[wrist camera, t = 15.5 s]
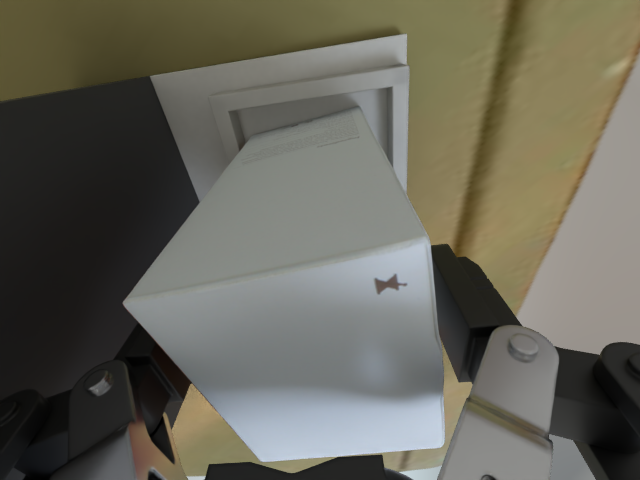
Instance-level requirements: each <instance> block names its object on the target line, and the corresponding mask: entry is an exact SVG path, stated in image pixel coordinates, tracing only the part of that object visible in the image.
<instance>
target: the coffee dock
mask: <svg viewBox="0 0 640 480" xmlns="http://www.w3.org/2000/svg"><path fill="white" fill-rule="evenodd" d="M357 106H360V107H361V109H362V111H363V113H364V115H365V117H366V119H367V122H368V124H369V126H370V128H371V130H372V131H373V133H374V135H375V137H376V139H377V140H378V142H379V144H380V146H381V147H382V149H383V151H384V153H385V155H386V157H387V158H388V160H389V162H390V164H391V166H392V168H393V170H394V172H395V174H396V176H397V178H398V179H399V181H400V183H401V185H402V187H403V189H404V191H405V193H406V195H407V156H408V111H409V65H407V34H400V35H394V36H388V37H382V38H376V39H370V40H363V41H357V42H351V43H345V44H339V45H333V46H327V47H321V48H315V49H309V50H303V51H297V52H291V53H285V54H279V55H273V56H267V57H261V58H255V59H249V60H243V61H237V62H231V63H225V64H219V65H213V66H207V67H201V68H195V69H189V70H183V71H177V72H171V73H165V74H159V75H153V76H146V77H140V78H134V79H128V80H122V81H116V82H110V83H104V84H98V85H92V86H86V87H80V88H74V89H68V90H63V91H57V92H51V93H45V94H39V95H33V96H28V97H22V98H16V99H10V100H4V101H0V401H1V400H2V399H4V398H6V397H7V396H9V395H11V394H13V393H16V392H18V391H21V390H25V389H34V390H36V391H37V392H38V393H40V394H41V395H42V396H43V397H44V398H48V397H51V396H53V395H56V394H59V393H62V392H65V391H67V390H70V389H72V388H73V387H74V385H75V384H76V383H77V381H78V380H79V379H80V378H81V377H82V376H83V375H84V374H85V373H87V372H88V371H89V370H91V369H92V368H94V367H95V366H97V365H99V364H101V363H104V362H106V361H110V360H113V359H114V358H115V356H116V355H117V353H118V352H119V350H120V349H121V347H122V346H123V344H124V343H125V341H126V340H127V338H128V337H129V335H130V334H131V332H132V331H133V329H134V328H135V326H136V325H137V323H139V322H138V321H137V320H136V319H135V318H134V317H133V316H132V315H131V314H130V313H129V312H128V311H127V309H126V308H125V307H124V306H123V301H124V300H125V299H126V297H127V296H128V295H129V294H130V293H131V291H132V290H133V288H134V287H135V286H136V284H137V283H138V282H139V280H140V279H141V278H142V277H143V275H144V274H145V273H146V271H147V270H148V269H149V268H150V266H151V265H152V264H153V262H154V261H155V260H156V258H157V257H158V256H159V255H160V253H161V252H162V251H163V249H164V248H165V247H166V246H167V244H168V243H169V242H170V240H171V239H172V238H173V236H174V235H175V234H176V233H177V231H178V230H179V229H180V227H181V226H182V225H183V224H184V222H185V221H186V220H187V218H188V217H189V216H190V214H191V213H192V212H193V211H194V209H195V208H196V207H197V206H198V204H199V203H200V202H201V200H202V199H203V198H204V196H205V195H206V194H207V193H208V192H209V190H210V189H211V188H212V186H213V185H214V184H215V183H216V181H217V180H218V179H219V177H220V176H221V174H222V173H223V172H224V170H225V169H226V168H227V167H228V165H229V164H230V163H231V161H232V160H233V159H234V158H235V157H236V155H237V154H238V153H239V152H240V150H241V149H242V148H243V147H244V145H245V144H246V143H247V142H248V140H249V139H250V138H251V136H253V135H256V134H259V133H263V132H267V131H270V130H274V129H278V128H282V127H285V126H289V125H293V124H296V123H300V122H304V121H308V120H311V119H315V118H318V117H322V116H325V115H329V114H333V113H336V112H340V111H343V110H347V109H350V108H354V107H357ZM182 403H183V402H171V403H168V405H167V407H166V409H165V411H164V412H165V413H166V414H167V417H168V420H169V423H170V427H171V430H172V427H173V425H174V422H175V420H176V417H177V415H178V413H179V410H180V408H181V405H182ZM25 476H26V475H25V474H23V473H22V472H20V471H18V470H17V469H15V468H13V469H12V470H11V471H10V473H9V474H8V476H7V477H6V479H5V480H23V479H24V477H25Z"/></svg>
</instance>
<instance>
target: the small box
mask: <svg viewBox="0 0 640 480" xmlns="http://www.w3.org/2000/svg"><path fill="white" fill-rule="evenodd" d="M123 306H124V307H125V308H126V309H127V311H128V312H129V313H130V314H131V315H132V316H133V317H134V318H135V319H136V320H137V321H138V322H139V323H140V325H141V326H142V327H143V328H144V329H145V330H146V331H147V332H148V334H149V335H150V336H151V337H152V338H153V339H154V340H155V342H156V343H157V344H158V345H159V346H160V347H161V348H162V350H163V351H164V352H165V353H166V354H167V355H168V356H169V357H170V358H171V360H172V361H173V362H174V363H175V364H176V365H177V366H178V368H179V369H180V370H181V371H182V372H183V373H184V374H185V376H186V377H187V378H188V379H189V380H190V381H191V382H192V384H193V385H194V386H195V387H196V388H197V389H198V390H199V391H200V393H201V394H202V395H203V396H204V397H205V398H206V400H207V401H208V402H209V403H210V404H211V405H212V406H213V407H214V409H215V410H216V411H217V412H218V413H219V414H220V415H221V416H222V418H223V419H224V420H225V421H226V422H227V423H228V424H229V426H230V427H231V428H232V429H233V430H234V431H235V433H236V434H237V435H238V436H239V437H240V438H241V439H242V441H243V442H244V443H245V444H246V445H247V446H248V447H249V448H250V450H251V451H252V452H253V453H254V454H255V455H256V457H257V458H258V459H259V460H260V461H261V462H271V461H282V460H295V459H304V458H320V457H333V456H346V455H358V454H370V453H382V452H393V451H405V450H416V449H429V448H440V447H442V446H443V444H444V442H445V422H444V399H443V385H444V367H443V359H442V345H441V341H440V336H439V330H438V321H437V311H436V298H435V287H434V277H433V265H432V254H431V245H430V239H429V237H428V235H427V233H426V231H425V229H424V227H423V225H422V223H421V221H420V219H419V218H418V216H417V214H416V212H415V210H414V208H413V206H412V204H411V202H410V200H409V198H408V196H407V195H406V193H405V191H404V189H403V187H402V185H401V183H400V181H399V179H398V178H397V176H396V174H395V172H394V170H393V168H392V166H391V164H390V162H389V160H388V158H387V157H386V155H385V153H384V151H383V149H382V147H381V146H380V144H379V142H378V140H377V139H376V137H375V135H374V133H373V131H372V130H371V128H370V126H369V124H368V122H367V119H366V117H365V115H364V113H363V111H362V109H361V107H360V106H357V107H354V108H350V109H347V110H343V111H340V112H336V113H333V114H329V115H325V116H322V117H318V118H315V119H311V120H308V121H304V122H300V123H296V124H293V125H289V126H285V127H282V128H278V129H274V130H270V131H267V132H263V133H259V134H256V135H253V136H251V138H250V139H249V140H248V142H247V143H246V144H245V145H244V147H243V148H242V149H241V150H240V152H239V153H238V154H237V155H236V157H235V158H234V159H233V160H232V161H231V163H230V164H229V165H228V167H227V168H226V169H225V170H224V172H223V173H222V174H221V176H220V177H219V179H218V180H217V181H216V183H215V184H214V185H213V186H212V188H211V189H210V190H209V192H208V193H207V194H206V195H205V196H204V198H203V199H202V200H201V202H200V203H199V204H198V206H197V207H196V208H195V209H194V211H193V212H192V213H191V214H190V216H189V217H188V218H187V220H186V221H185V222H184V224H183V225H182V226H181V227H180V229H179V230H178V231H177V233H176V234H175V235H174V236H173V238H172V239H171V240H170V242H169V243H168V244H167V246H166V247H165V248H164V249H163V251H162V252H161V253H160V255H159V256H158V257H157V258H156V260H155V261H154V262H153V264H152V265H151V266H150V268H149V269H148V270H147V271H146V273H145V274H144V275H143V277H142V278H141V279H140V280H139V282H138V283H137V284H136V286H135V287H134V288H133V290H132V291H131V293H130V294H129V295H128V296H127V297H126V299H125V300H124V301H123Z"/></svg>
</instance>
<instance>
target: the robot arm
mask: <svg viewBox="0 0 640 480" xmlns="http://www.w3.org/2000/svg"><path fill="white" fill-rule="evenodd" d="M431 254H432V265H433V277H434V287H435V298H436V311H437V321H438V330H439V335H440V337H441V340H442V342H443V345H444V347H445V350H446V352H447V355H448V357H449V360H450V362H451V364H452V367H453V369H454V372H455V374H456V377H457V379H458V382H472V384H473V386H472V389H471V392H470V395H469V397H468V398H467V399H466V401H465V404H464V406H463V409H462V412H461V414H460V417H459V420H458V423H457V425H456V428H455V431H454V434H453V437H452V439H451V442H450V445H449V448H448V450H447V453H446V456H445V459H444V462H443V464H442V467H441V470H440V473H439V476H438V478H437V480H550V475H551V466H552V458H553V442H552V441H551V440H550V439H549V434H552V435H556V436H560V437H563V438H567V439H571V440H573V441H574V442H575V444H576V446H577V447H578V449H579V451H580V453H581V455H582V456H583V458H584V460H585V461H586V463H587V465H588V467H589V468H590V470H591V472H592V473H593V475H594V477H595V479H596V480H640V345H637V344H633V343H627V342H618V343H612V344H609V345H607V346H606V347H605V348H604V349H603V350H602V352H601V354H600V355H597V354H592V353H586V352H580V351H574V350H568V349H563V348H559V347H555V346H553V344H552V343H551V342H550V341H549V340H548V339H547V338H545V337H544V336H543V335H541V334H539V333H538V332H536V331H534V330H532V329H529V328H526V327H523V326H522V325H521V324H520V322H519V321H518V319H517V318H516V317H515V315H514V314H513V312H512V311H511V310H510V308H509V307H508V305H507V304H506V303H505V301H504V300H503V299H502V297H501V296H500V294H499V293H498V292H497V290H496V289H495V288H494V287H493V285H492V283H491V282H490V280H489V279H487V276H486V275H485V273H484V272H483V271H482V269H481V268H480V267H479V265H477V264H476V263H474V262H473V261H471V260H470V259H468V258H467V257H456V256H455V254H454V253H453V251H452V249H451V248H450V246H449V245H448V244H440V245H431ZM190 383H191V381H190V380H189V379H188V378H187V377H186V376H185V374H184V373H183V372H182V371H181V370H180V369H179V368H178V366H177V365H176V364H175V363H174V362H173V361H172V360H171V358H170V357H169V356H168V355H167V354H166V353H165V352H164V351H163V350H162V348H161V347H160V346H159V345H158V344H157V343H156V342H155V340H154V339H153V338H152V337H151V336H150V335H149V334H148V332H147V331H146V330H145V329H144V328H143V327H142V326H141V325H140V323H137V325H136V326H135V328H134V329H133V331H132V332H131V334H130V335H129V337H128V338H127V340H126V341H125V343H124V344H123V346H122V347H121V349H120V350H119V352H118V353H117V355H116V356H115V358H114V359H113V360H110V361H106V362H104V363H101V364H99V365H97V366H95V367H94V368H92V369H91V370H89V371H88V372H87V373H85V374H84V375H83V376H82V377H81V378H80V379H79V380H78V381H77V383H76V384H75V385H74V387H73V388H72V389H70V390H67V391H65V392H62V393H59V394H56V395H53V396H51V397H48V398H44V397H43V396H42V395H41V394H40V393H38V392H37V391H36V390H34V389H25V390H21V391H18V392H16V393H13V394H11V395H9V396H7V397H6V398H4V399H2V400H1V401H0V480H5V479H6V477H7V476H8V474H9V473H10V471H11V470H12V469H13V468H15V469H17V470H18V471H20V472H22V473H23V474H25V475H26V476H25V477H24V479H23V480H188V479H187V477H186V475H185V473H184V471H183V468H182V465H181V462H180V458H179V455H178V451H177V448H176V444H175V441H174V437H173V434H172V430H171V427H170V423H169V420H168V417H167V414H166V413H165V412H164V411H165V409H166V407H167V405H168V403H171V402H183V401H184V398H185V396H186V393H187V391H188V388H189V386H190ZM205 480H413V479H411V478H409V477H407V476H406V475H403V474H401V473H399V472H397V471H394V470H391V469H387V468H384V463H383V456H382V455H368V456H350V457H337V458H335V459H332V460H329V461H326V462H324V463H321V464H318V465H316V466H313V467H310V468H308V469H305V470H302V471H300V472H297V473H287V472H283V471H280V470H276V469H273V468H269V467H266V466H262V465H259V464H255V463H252V462H242V463H224V464H209V466H208V470H207V474H206V477H205Z"/></svg>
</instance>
